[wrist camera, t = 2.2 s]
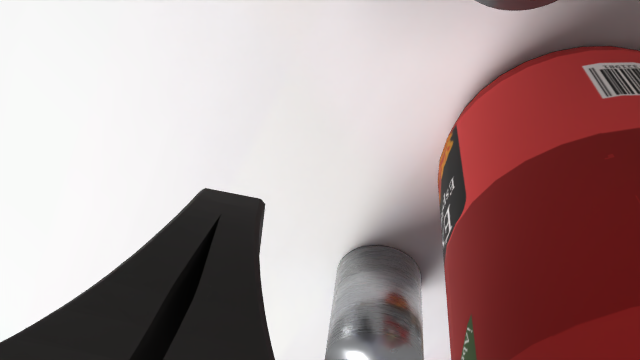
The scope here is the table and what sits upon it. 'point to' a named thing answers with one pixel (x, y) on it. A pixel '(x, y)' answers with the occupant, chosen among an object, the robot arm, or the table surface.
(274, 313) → the table surface
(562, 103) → the canned food
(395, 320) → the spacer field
